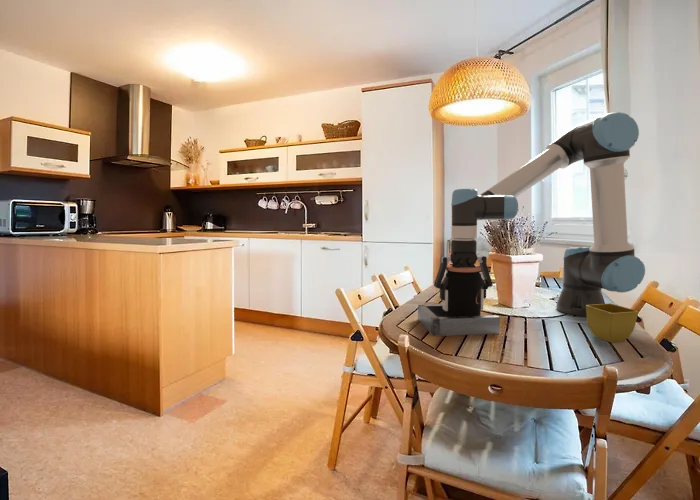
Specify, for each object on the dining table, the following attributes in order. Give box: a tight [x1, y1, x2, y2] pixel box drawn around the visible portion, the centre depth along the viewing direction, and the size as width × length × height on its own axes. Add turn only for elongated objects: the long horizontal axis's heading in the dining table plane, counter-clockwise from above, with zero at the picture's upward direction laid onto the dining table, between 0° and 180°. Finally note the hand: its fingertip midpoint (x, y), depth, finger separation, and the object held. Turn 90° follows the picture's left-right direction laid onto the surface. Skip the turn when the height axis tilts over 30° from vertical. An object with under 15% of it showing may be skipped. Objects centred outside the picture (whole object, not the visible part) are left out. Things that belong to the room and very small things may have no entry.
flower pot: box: [586, 303, 639, 343], centre depth 102 cm, size 9×9×9 cm
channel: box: [417, 303, 501, 337], centre depth 115 cm, size 20×17×5 cm
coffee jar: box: [445, 264, 482, 317], centre depth 115 cm, size 11×11×18 cm
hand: (462, 309), depth 115 cm, fingers closed on coffee jar, 11 cm apart
